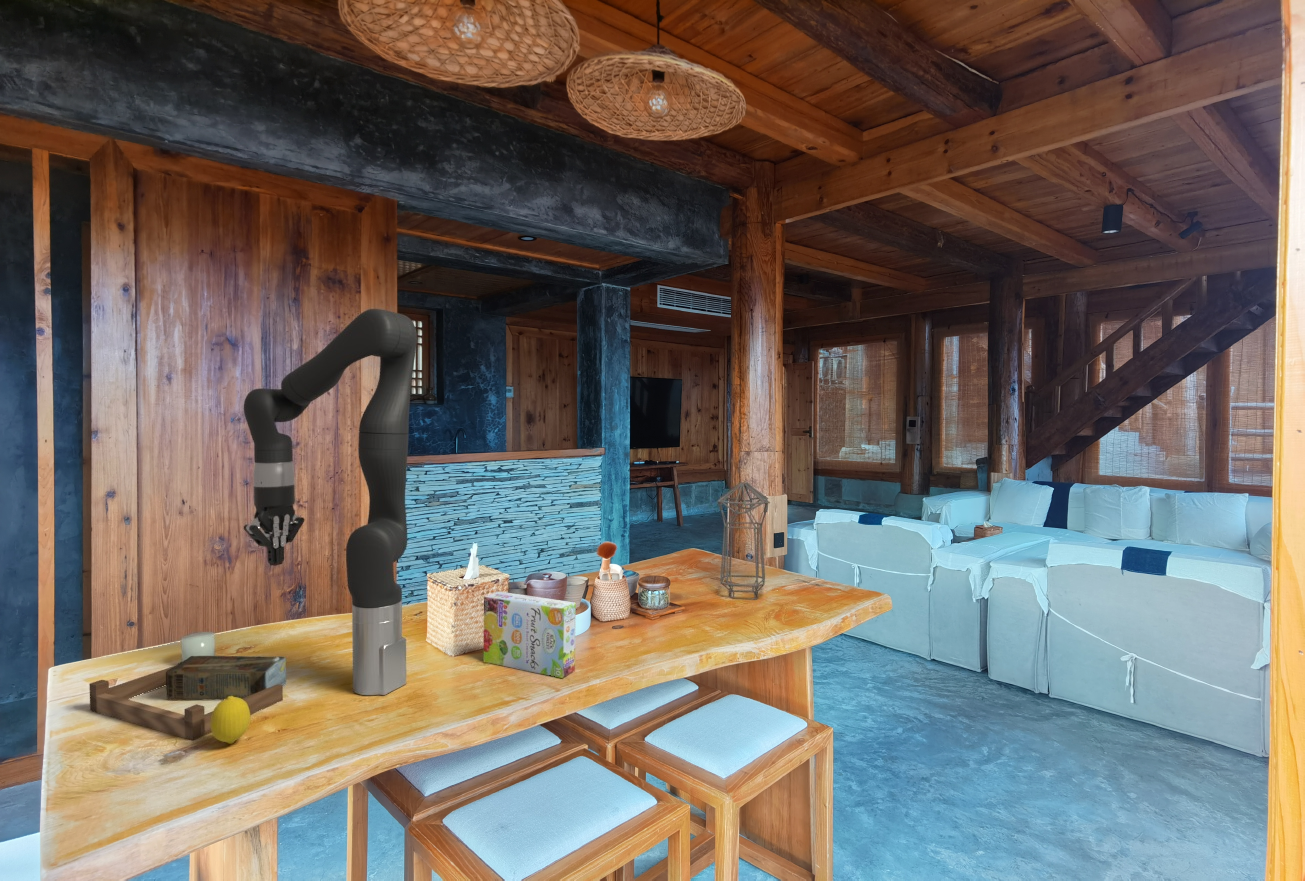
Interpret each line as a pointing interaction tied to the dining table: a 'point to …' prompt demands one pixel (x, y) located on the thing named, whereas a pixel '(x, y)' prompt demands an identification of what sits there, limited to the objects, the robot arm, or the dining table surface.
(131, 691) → the frame
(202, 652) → the grey rounded cylinder
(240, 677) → the beverage carton
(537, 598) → the snack box
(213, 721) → the lemon
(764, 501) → the geometric lantern
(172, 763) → the dining table surface
